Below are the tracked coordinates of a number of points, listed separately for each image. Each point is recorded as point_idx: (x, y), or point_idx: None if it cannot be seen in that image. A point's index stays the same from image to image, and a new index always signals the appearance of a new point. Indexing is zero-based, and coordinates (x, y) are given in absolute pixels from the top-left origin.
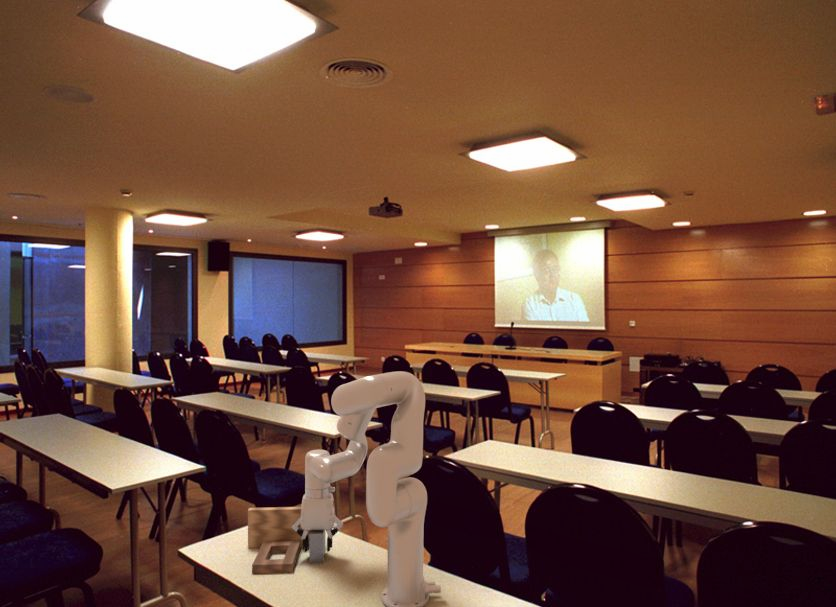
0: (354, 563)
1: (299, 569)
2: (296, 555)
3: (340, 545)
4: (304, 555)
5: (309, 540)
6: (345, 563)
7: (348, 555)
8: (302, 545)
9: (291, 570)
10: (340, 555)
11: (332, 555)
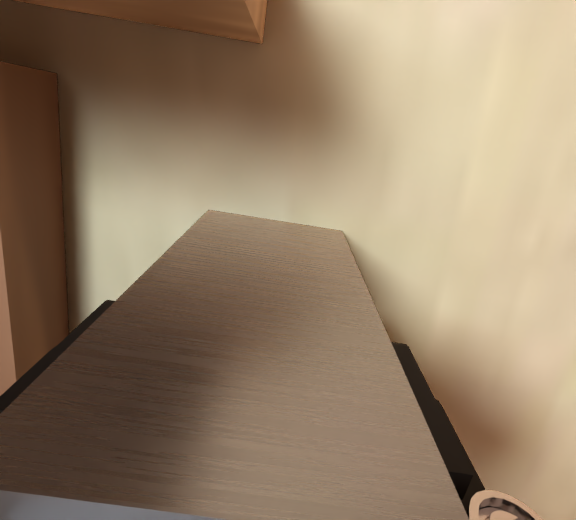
0: (549, 464)
1: None
2: (41, 346)
3: (540, 89)
4: (130, 249)
5: (131, 1)
6: (481, 451)
7: (548, 336)
8: (65, 8)
9: None
10: (476, 321)
11: (402, 306)
